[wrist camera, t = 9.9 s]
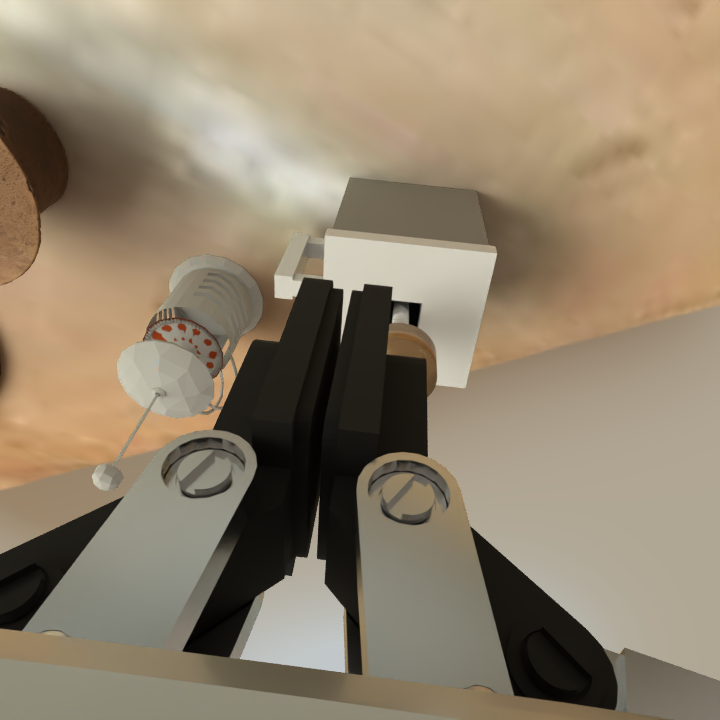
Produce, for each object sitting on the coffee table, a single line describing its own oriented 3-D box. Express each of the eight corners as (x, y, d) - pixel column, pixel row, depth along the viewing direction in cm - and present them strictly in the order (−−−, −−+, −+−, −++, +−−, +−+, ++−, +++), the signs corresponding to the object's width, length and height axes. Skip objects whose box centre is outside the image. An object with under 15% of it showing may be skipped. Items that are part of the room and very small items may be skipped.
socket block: (480, 187, 48) (497, 253, 37) (456, 304, 54) (465, 388, 44) (299, 169, 48) (264, 228, 37) (298, 287, 55) (269, 366, 44)
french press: (230, 239, 53) (111, 414, 32) (289, 335, 58) (218, 533, 38) (149, 274, 56) (-7, 453, 35) (212, 362, 61) (109, 558, 41)
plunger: (436, 230, 48) (443, 349, 33) (428, 282, 51) (430, 411, 36) (379, 224, 48) (360, 339, 33) (374, 276, 51) (354, 402, 36)
